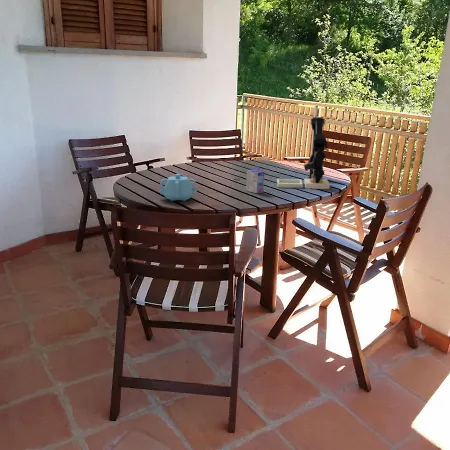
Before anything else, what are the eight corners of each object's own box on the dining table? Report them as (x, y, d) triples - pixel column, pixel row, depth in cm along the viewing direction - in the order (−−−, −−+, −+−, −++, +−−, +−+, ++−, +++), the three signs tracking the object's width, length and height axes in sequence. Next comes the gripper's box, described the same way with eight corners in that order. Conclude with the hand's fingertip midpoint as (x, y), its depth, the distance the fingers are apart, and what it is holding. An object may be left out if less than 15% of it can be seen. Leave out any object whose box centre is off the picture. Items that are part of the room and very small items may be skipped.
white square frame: (304, 183, 284) (304, 178, 283) (326, 183, 283) (326, 179, 282) (305, 188, 270) (306, 183, 269) (329, 189, 269) (329, 184, 268)
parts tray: (277, 182, 285) (277, 178, 284) (300, 183, 284) (301, 179, 283) (277, 187, 272) (277, 183, 271) (302, 188, 271) (302, 184, 270)
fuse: (311, 185, 279) (311, 174, 277) (320, 185, 278) (321, 174, 276) (311, 186, 275) (312, 175, 273) (321, 187, 274) (322, 175, 272)
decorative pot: (182, 194, 255) (181, 170, 251) (199, 199, 243) (199, 174, 239) (157, 198, 245) (156, 173, 241) (174, 204, 233) (173, 178, 229)
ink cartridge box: (264, 192, 259) (265, 167, 255) (256, 193, 256) (257, 168, 252) (252, 189, 267) (253, 165, 262) (245, 190, 264) (246, 166, 259)
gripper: (303, 155, 281) (302, 180, 286) (306, 160, 263) (304, 186, 268) (321, 156, 280) (319, 180, 285) (325, 161, 262) (323, 187, 267)
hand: (316, 183), depth 276 cm, fingers closed on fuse, 4 cm apart
